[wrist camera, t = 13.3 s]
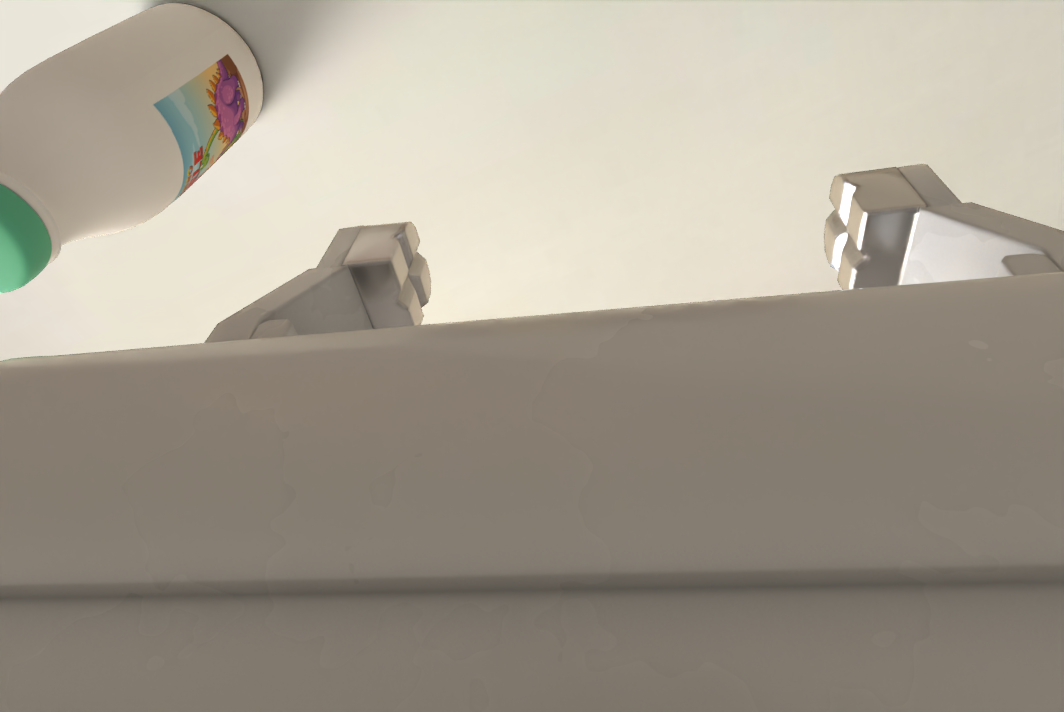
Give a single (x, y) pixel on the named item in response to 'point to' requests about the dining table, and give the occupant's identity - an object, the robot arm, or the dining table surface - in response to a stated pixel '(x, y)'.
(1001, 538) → the robot arm
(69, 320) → the dining table surface
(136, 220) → the milk bottle
